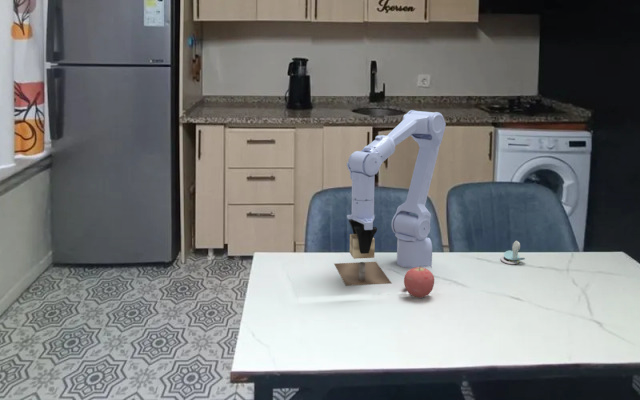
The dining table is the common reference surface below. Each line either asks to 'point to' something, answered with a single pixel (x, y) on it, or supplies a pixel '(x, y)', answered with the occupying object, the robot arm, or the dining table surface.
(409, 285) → the apple
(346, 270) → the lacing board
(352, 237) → the open-ended tan box
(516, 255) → the pacifier
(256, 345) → the dining table surface
